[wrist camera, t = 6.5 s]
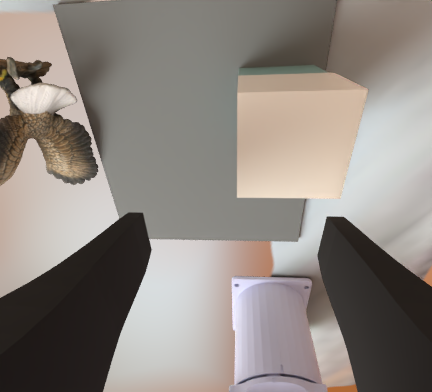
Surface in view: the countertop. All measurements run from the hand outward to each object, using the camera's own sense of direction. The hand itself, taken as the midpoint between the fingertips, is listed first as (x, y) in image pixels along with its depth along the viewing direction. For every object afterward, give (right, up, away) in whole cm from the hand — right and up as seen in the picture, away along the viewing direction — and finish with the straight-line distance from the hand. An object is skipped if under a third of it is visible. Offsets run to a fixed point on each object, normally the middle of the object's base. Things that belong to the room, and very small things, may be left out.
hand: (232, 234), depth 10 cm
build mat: (-2, +5, +9) cm, 11 cm away
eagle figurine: (-13, +7, +9) cm, 17 cm away
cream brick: (+3, +6, +3) cm, 7 cm away
